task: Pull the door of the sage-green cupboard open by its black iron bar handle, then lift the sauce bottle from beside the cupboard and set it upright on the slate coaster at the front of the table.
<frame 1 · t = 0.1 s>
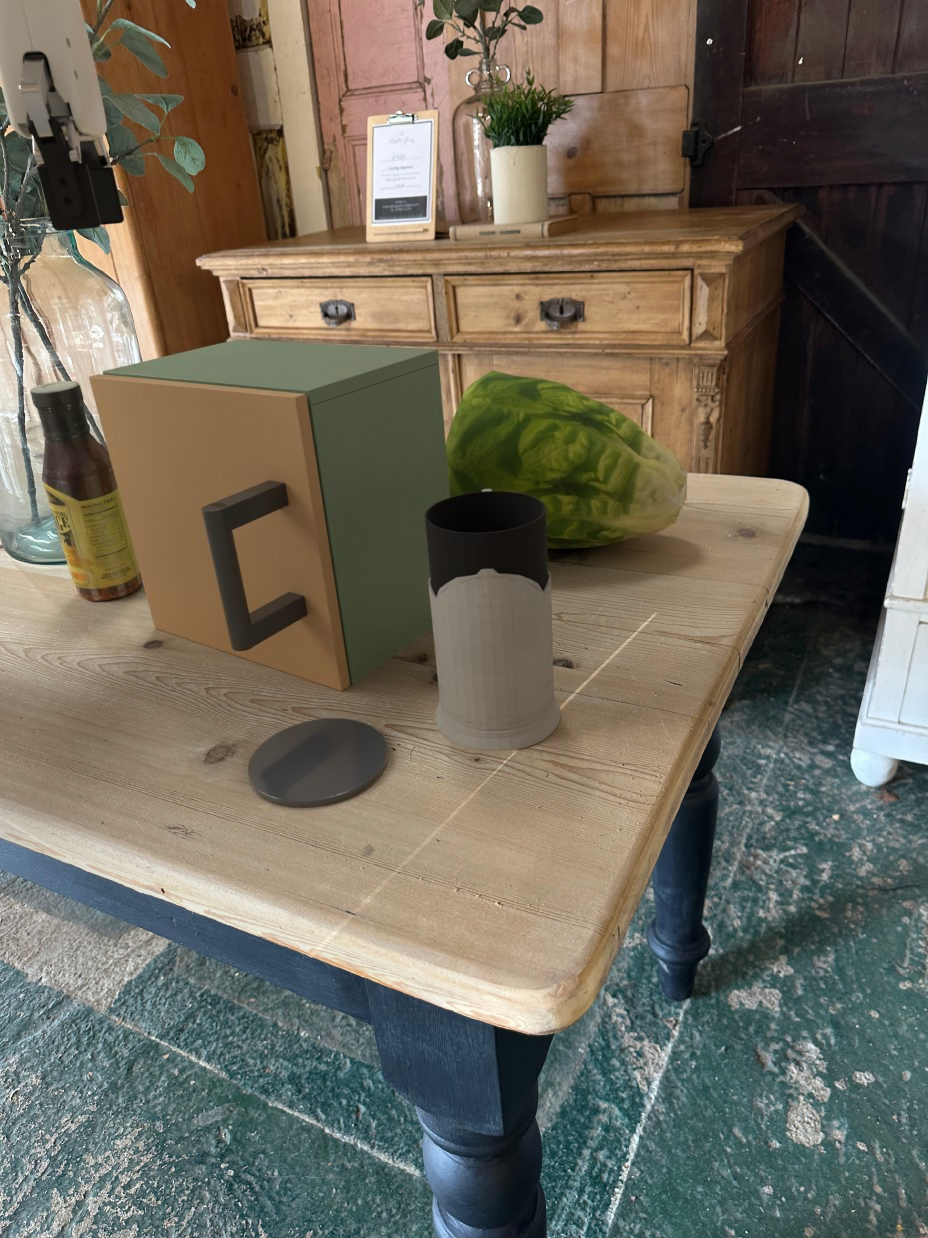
hand: (91, 226, 65), 32 cm above the table, tool pointing down, fingers open, 9 cm apart
sauce bottle: (112, 593, 84), on the table
cupboard door: (185, 544, 63), point 11 cm above the table, hinge at 0.0°
glass holder: (497, 696, 62), on the table
coaster: (319, 764, 56), on the table
lettuce: (564, 544, 87), on the table
cupboard: (311, 617, 76), on the table
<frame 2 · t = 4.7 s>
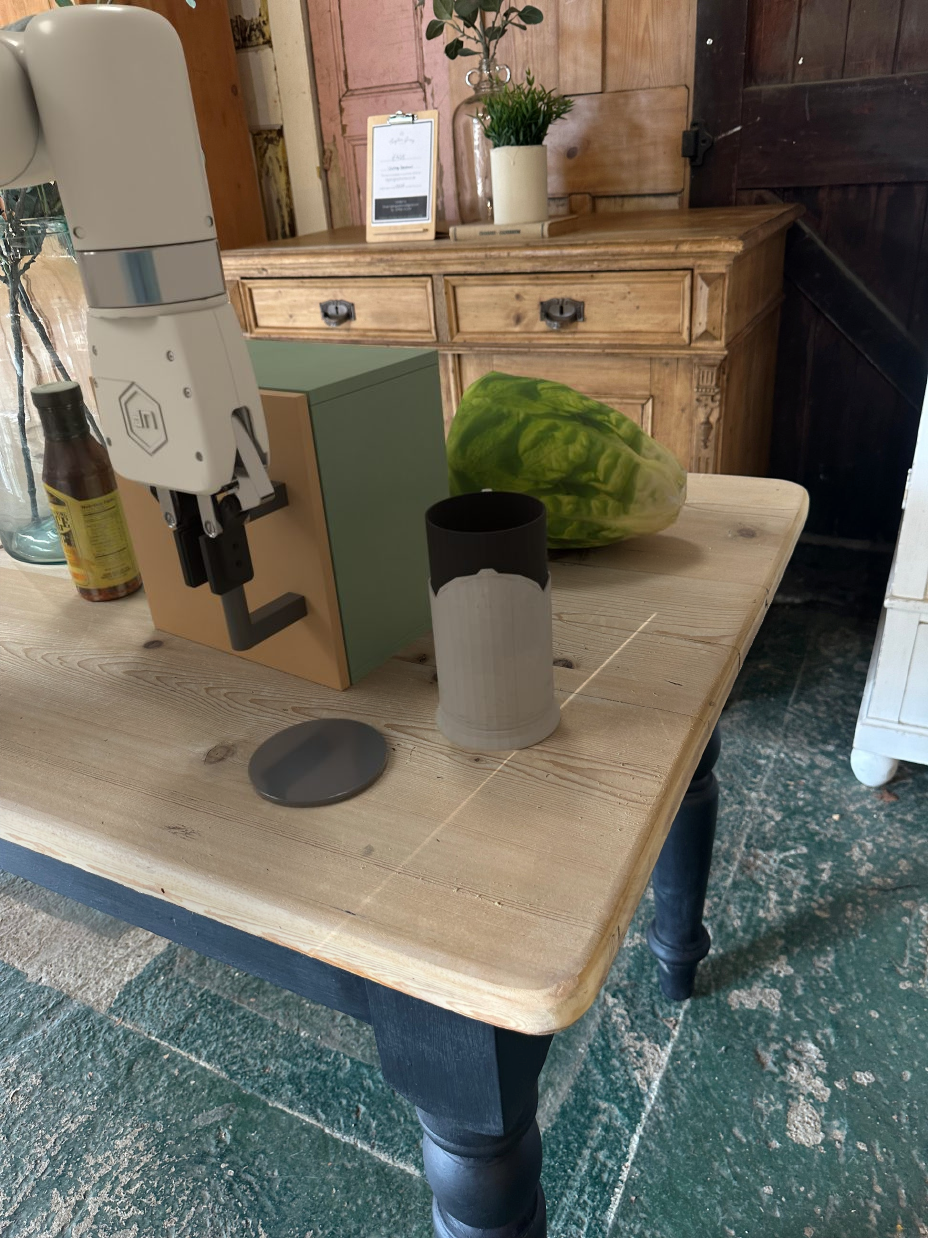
hand: (220, 581, 56), 11 cm above the table, tool pointing down, fingers closed on cupboard door
cupboard door: (185, 544, 63), point 11 cm above the table, hinge at 0.0°, touching gripper
everything else where it was.
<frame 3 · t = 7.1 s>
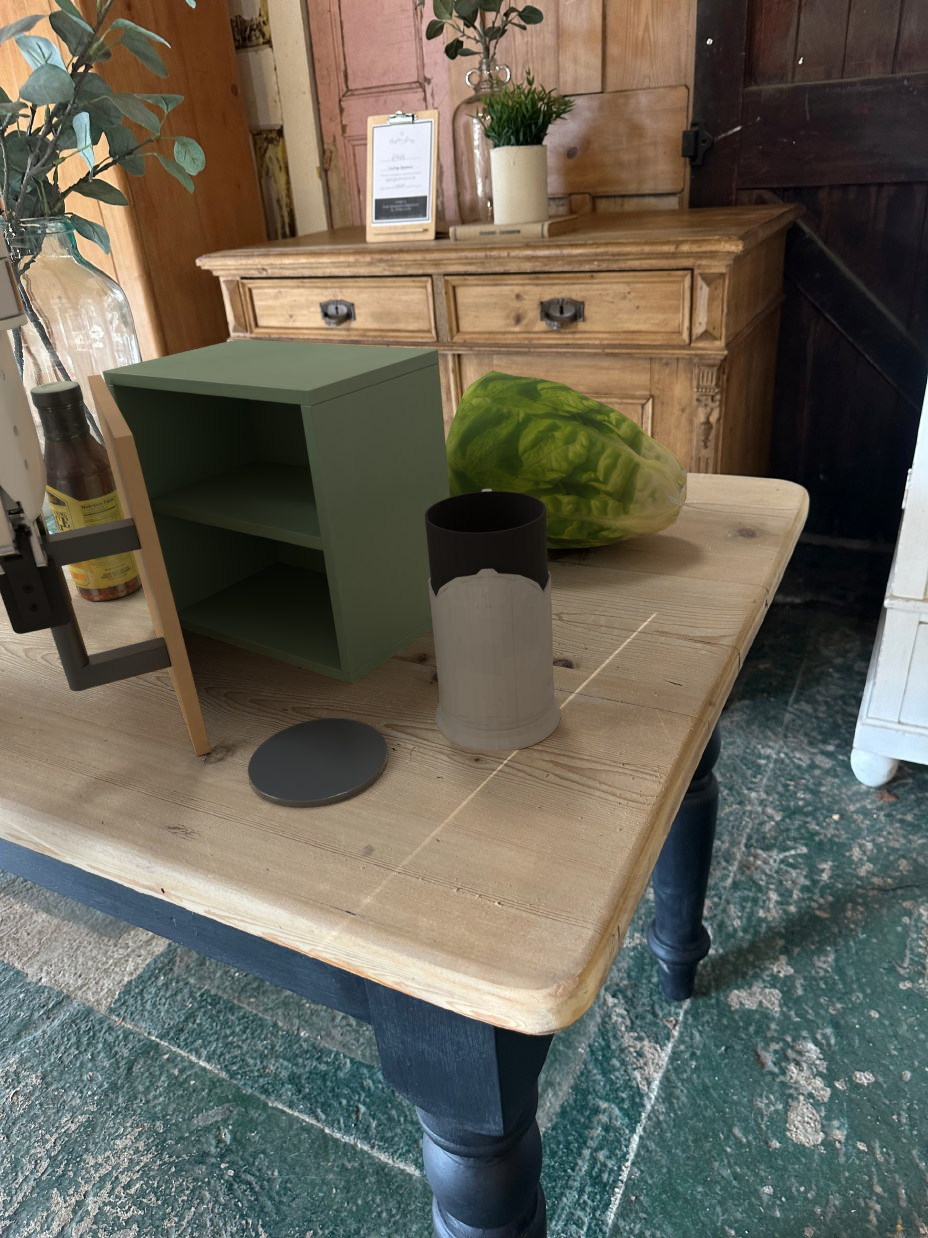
hand: (44, 617, 53), 11 cm above the table, tool pointing down, fingers closed on cupboard door
cupboard door: (99, 562, 61), point 11 cm above the table, hinge at 30.1°, touching gripper
everything else where it was.
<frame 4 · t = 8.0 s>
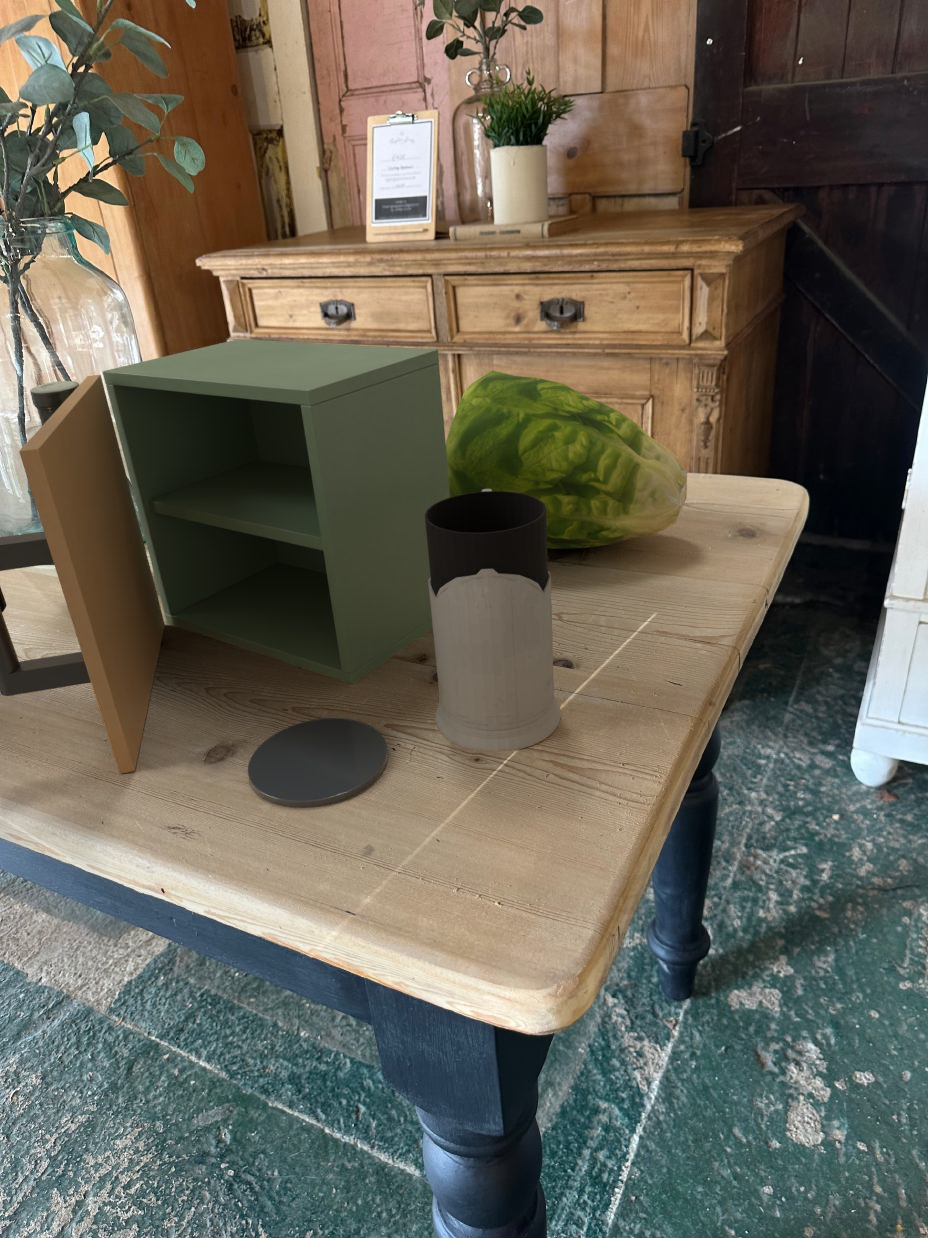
cupboard door: (62, 565, 61), point 11 cm above the table, hinge at 43.0°, touching gripper
everything else where it was.
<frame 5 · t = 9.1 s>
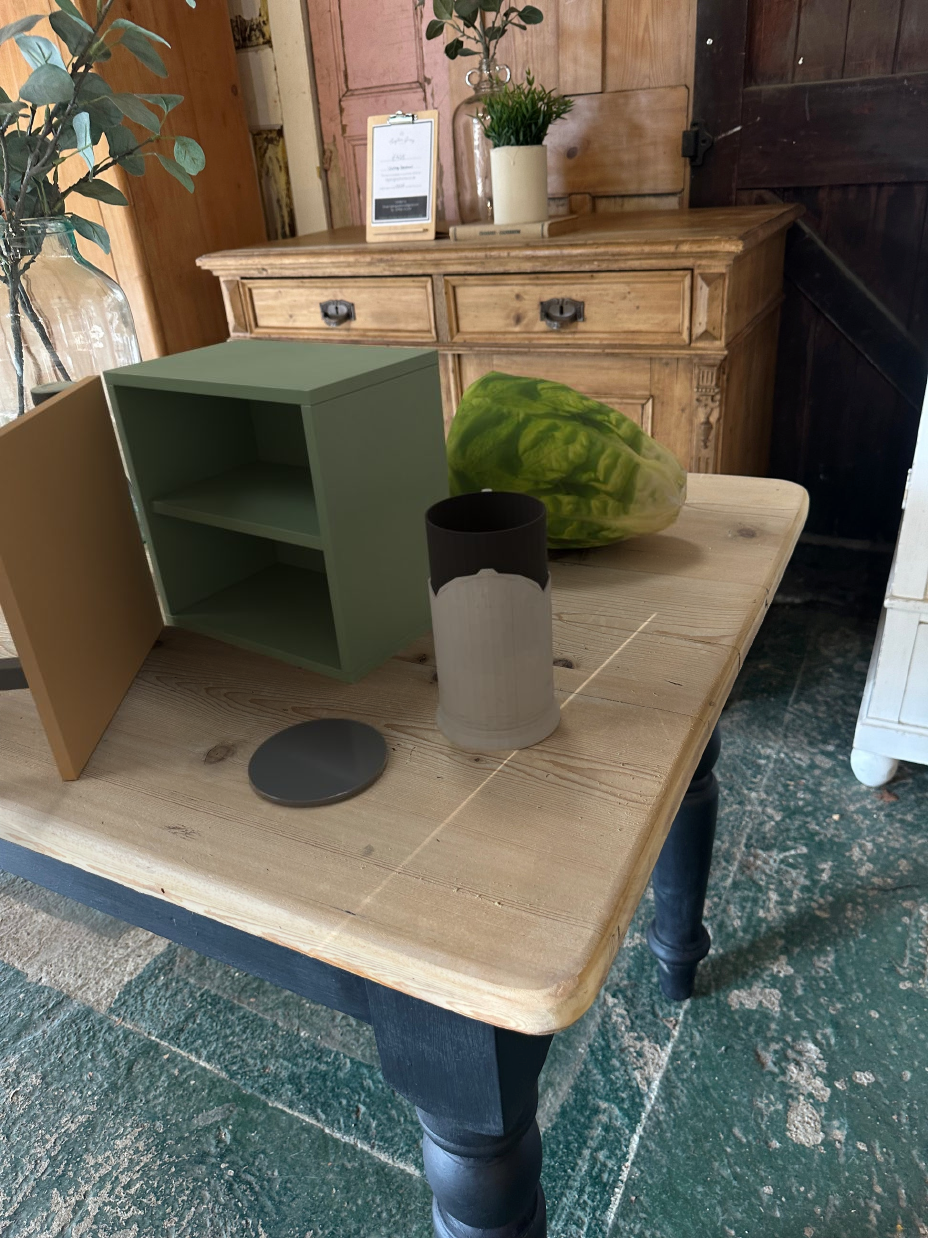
cupboard door: (38, 565, 61), point 11 cm above the table, hinge at 52.6°
everything else where it was.
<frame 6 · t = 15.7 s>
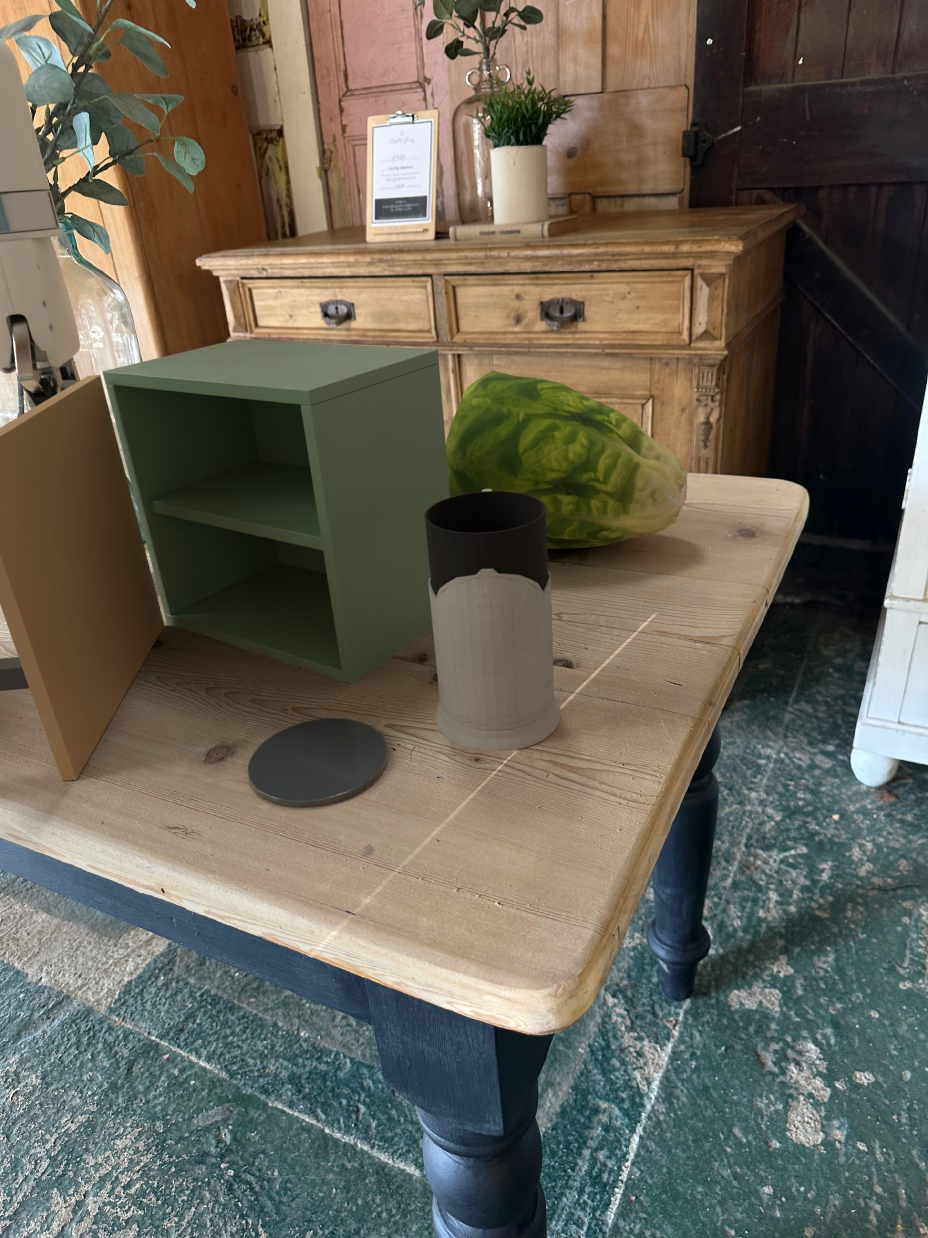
hand: (70, 442, 77), 15 cm above the table, tool pointing down, fingers closed on sauce bottle, 4 cm apart
sauce bottle: (112, 592, 84), on the table, touching gripper
everything else where it was.
when the fingers open (15 cm above the table, at t = 26.3 s): sauce bottle stays where it is, resting on coaster.
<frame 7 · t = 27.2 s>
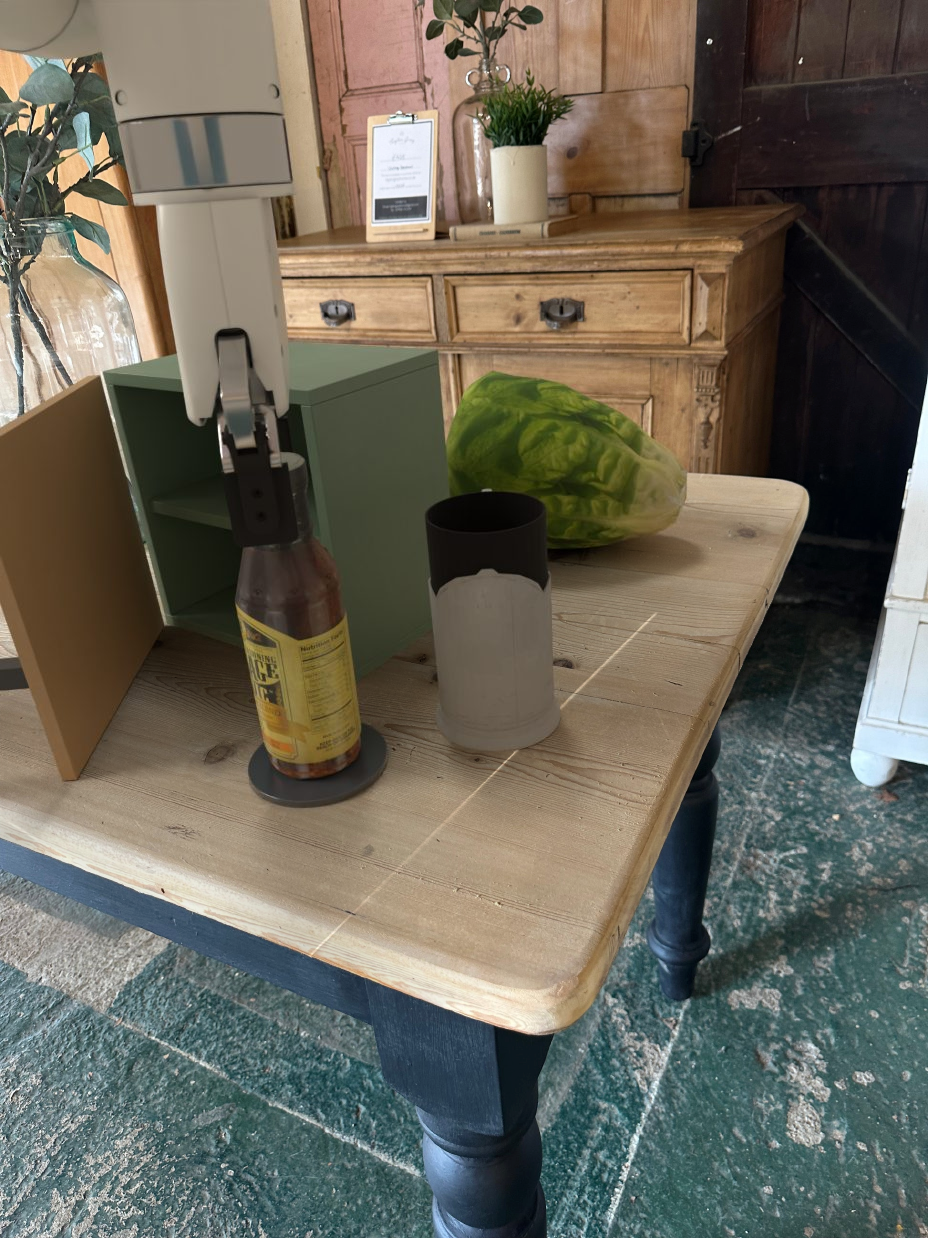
hand: (269, 511, 48), 17 cm above the table, tool pointing down, fingers open, 9 cm apart
sauce bottle: (318, 759, 56), resting on coaster
everything else where it was.
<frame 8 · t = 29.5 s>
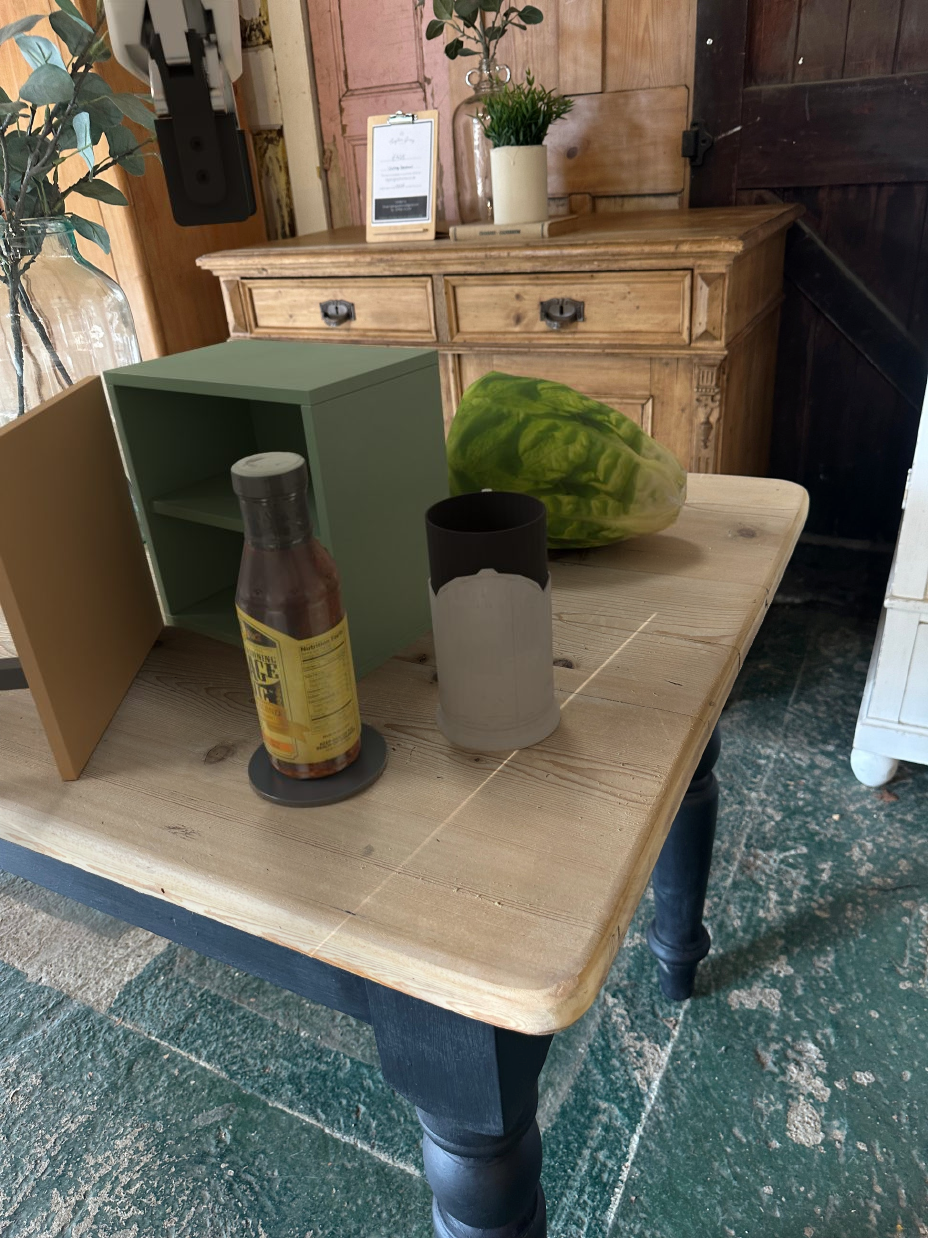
hand: (221, 220, 41), 32 cm above the table, tool pointing down, fingers open, 9 cm apart
nothing on the table moved.
at the end: cupboard door at +53° (first picture: +0°); sauce bottle 0.0 cm off-centre on the coaster, point 0.4 cm above the coaster's base; sauce bottle tilted 0° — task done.
